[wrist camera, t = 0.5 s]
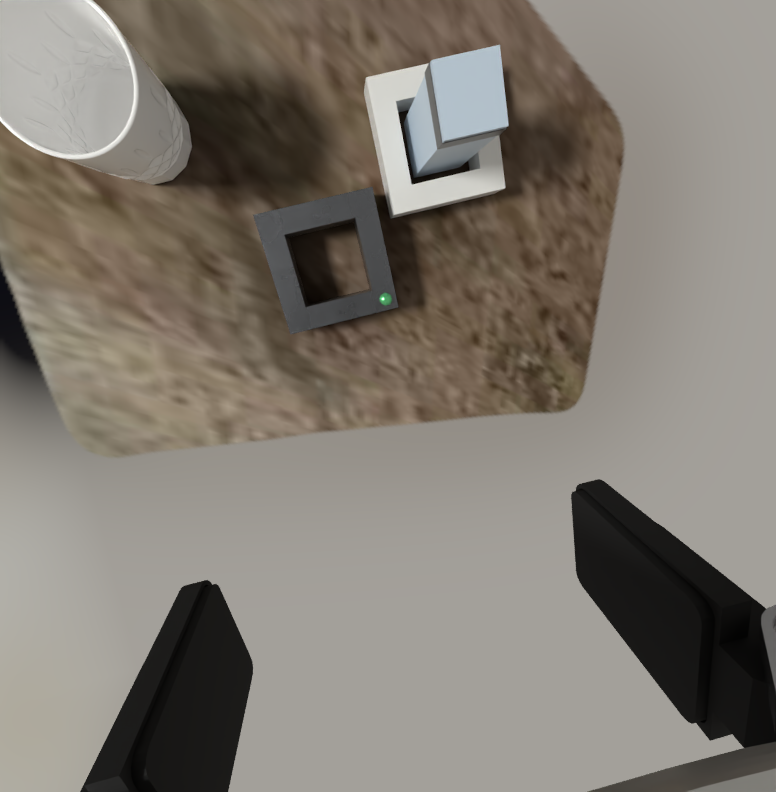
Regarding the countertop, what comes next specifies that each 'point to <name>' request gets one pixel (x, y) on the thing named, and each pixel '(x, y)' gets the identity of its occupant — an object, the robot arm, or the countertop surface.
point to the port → (313, 218)
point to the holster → (402, 197)
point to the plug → (456, 110)
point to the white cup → (86, 92)
